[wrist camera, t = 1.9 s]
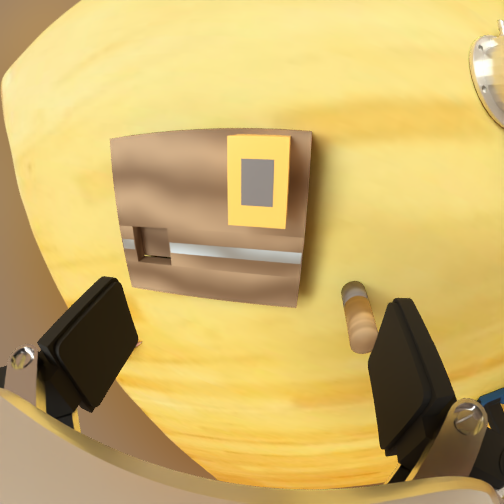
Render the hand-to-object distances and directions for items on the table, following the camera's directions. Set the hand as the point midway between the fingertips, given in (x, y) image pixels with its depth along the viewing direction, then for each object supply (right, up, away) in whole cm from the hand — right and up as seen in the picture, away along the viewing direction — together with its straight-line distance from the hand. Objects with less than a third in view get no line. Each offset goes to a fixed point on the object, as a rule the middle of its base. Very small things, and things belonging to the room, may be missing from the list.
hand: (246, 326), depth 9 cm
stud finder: (+1, +9, +14) cm, 17 cm away
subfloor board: (-4, +7, +21) cm, 23 cm away
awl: (+13, -2, +23) cm, 26 cm away
